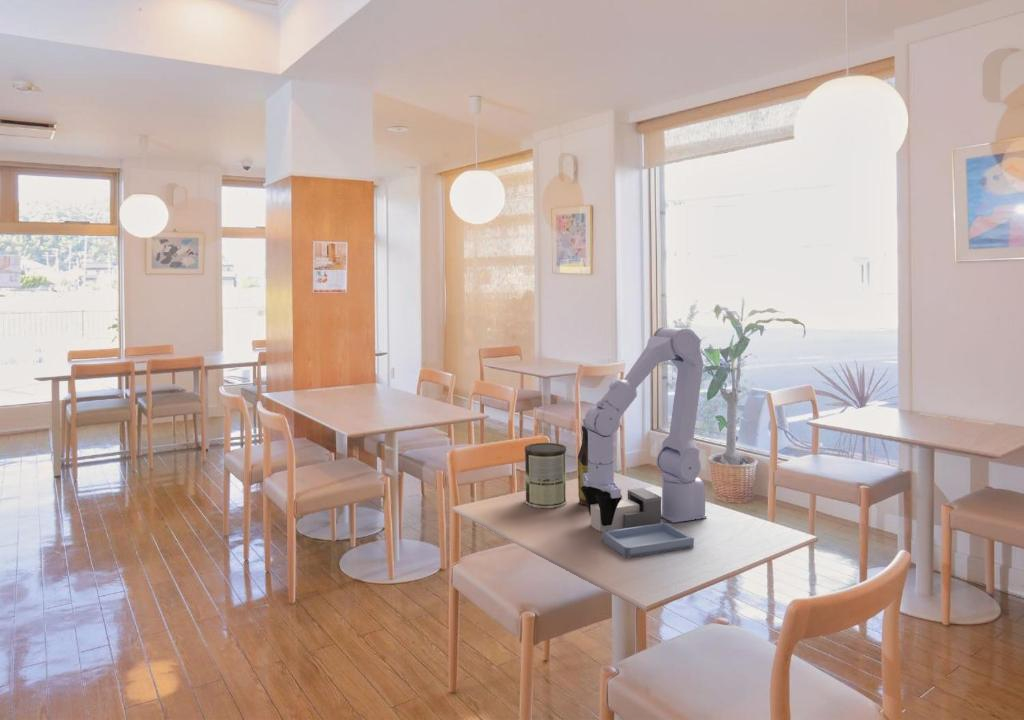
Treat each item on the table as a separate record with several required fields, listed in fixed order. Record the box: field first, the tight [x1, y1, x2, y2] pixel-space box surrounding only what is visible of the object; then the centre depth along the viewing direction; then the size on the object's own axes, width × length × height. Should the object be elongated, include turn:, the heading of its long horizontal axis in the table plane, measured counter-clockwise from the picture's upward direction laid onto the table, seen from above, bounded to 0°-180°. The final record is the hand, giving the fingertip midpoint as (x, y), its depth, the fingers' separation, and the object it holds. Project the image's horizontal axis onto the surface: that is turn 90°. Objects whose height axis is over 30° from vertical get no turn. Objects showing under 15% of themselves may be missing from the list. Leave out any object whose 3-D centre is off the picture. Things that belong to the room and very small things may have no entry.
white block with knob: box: [590, 498, 639, 532], centre depth 162 cm, size 10×4×6 cm, turn 112°
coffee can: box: [524, 442, 567, 509], centre depth 179 cm, size 10×10×14 cm
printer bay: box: [622, 487, 662, 529], centre depth 163 cm, size 9×8×6 cm
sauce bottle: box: [577, 423, 588, 506], centre depth 178 cm, size 7×6×20 cm
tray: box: [601, 522, 695, 559], centre depth 150 cm, size 16×11×2 cm
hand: (600, 521), depth 161 cm, fingers open, 5 cm apart
